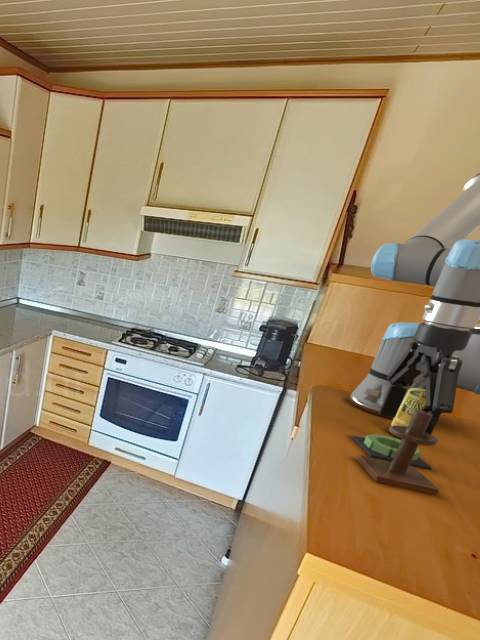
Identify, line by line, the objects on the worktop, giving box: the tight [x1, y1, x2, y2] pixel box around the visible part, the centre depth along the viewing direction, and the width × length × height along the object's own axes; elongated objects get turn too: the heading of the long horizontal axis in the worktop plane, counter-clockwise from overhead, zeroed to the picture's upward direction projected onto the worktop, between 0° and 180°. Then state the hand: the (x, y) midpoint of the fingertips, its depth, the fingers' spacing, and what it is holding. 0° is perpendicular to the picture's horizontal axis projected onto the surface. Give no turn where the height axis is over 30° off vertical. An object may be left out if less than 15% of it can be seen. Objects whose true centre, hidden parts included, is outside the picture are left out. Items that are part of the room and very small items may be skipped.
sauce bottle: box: [388, 354, 460, 439], centre depth 107 cm, size 7×6×20 cm
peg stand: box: [356, 410, 440, 496], centre depth 88 cm, size 9×9×13 cm
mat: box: [352, 435, 432, 471], centre depth 101 cm, size 10×10×1 cm
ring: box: [364, 433, 422, 461], centre depth 100 cm, size 8×8×2 cm
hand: (400, 427), depth 99 cm, fingers open, 13 cm apart
